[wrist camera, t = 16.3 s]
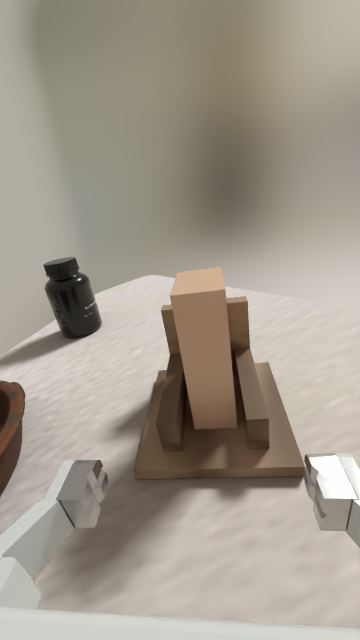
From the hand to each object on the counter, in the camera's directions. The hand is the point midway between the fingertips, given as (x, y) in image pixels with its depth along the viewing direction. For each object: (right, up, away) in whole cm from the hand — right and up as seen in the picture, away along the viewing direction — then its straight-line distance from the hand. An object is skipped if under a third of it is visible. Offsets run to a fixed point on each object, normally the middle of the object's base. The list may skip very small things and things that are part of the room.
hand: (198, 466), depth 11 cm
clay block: (+2, -2, +14) cm, 14 cm away
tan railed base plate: (+2, -3, +14) cm, 15 cm away
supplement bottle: (-17, +4, +36) cm, 40 cm away
